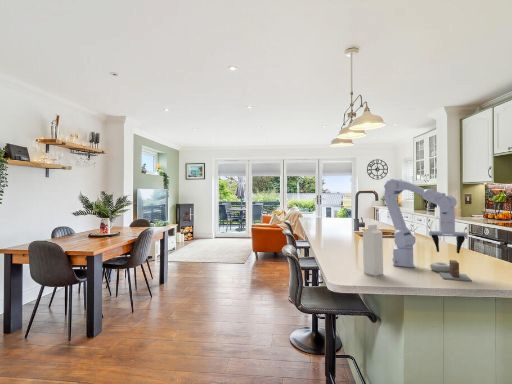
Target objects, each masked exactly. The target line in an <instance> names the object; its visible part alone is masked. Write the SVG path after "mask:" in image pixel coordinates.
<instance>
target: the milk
mask: <svg viewBox="0 0 512 384" xmlns="http://www.w3.org/2000/svg"><path fill="white" fill-rule="evenodd" d="M383 239H384V238H383V231H381V230H380V229H379V228H378V224H370V225H368V226H367V229H365V230H363V231H362V252H363V253H362V254H363V255H362V256H363V274H366V275H370V276H372V277H373V276H374V277H376V276H380V275H384V250H383V249H384V248H383V246H384V245H383V244H384V242H383V241H384V240H383Z"/></svg>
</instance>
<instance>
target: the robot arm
mask: <svg viewBox="0 0 512 384" xmlns="http://www.w3.org/2000/svg"><path fill="white" fill-rule="evenodd" d="M383 187H384V196H383V197H384V201H385V205H386V207H387V210H388V213H389V216H390V218H391V221H392V224H393V227H394V233H393V235H394V245H396V246H395V247H392V255H393V256H392V263H393V266H394V267H403V268H404V267H406V268H415V267H416V266H415V263H414V245H415V244H416V238H415V235H414V234H413V233H412V232H411V230H410V229H409V228H408V227H407V224H406V222H405V219H404V216H403V214H402V211H401V209H400V205H399V203H398V200H397V198H398V196H399V195H400V194H401V193H402V192H403V191H410V192H412V193H415V194H417V195H420V196H421V197H422V198H423V200H425V201H427V202H430V203H432V204H434V205H437V207H438V208H439V230H435V231H434V230H428V236H429V237H431V238H432V240H433V242H434V245H435V248H436V249H435V250H436V253H440V246H439V244H440V243H439V242H440V241H439V240H440V239H439V237H452V238H453V237H454V238H456V239H455V240H456V254H460V251H461V248H462V246H463V243H464V242H465V239H466V238H468V232H463V231H456V213H455V209H456V208H455V207H456V206H457V199H456V198H455V197H454V196H452V195H446V193H445V192H440V191H437V190H436V189H435V188H431V187H430V188H427V189H425V188H423V187H421V186H419V185H416V184H414V183H413V182H409V181H407V180H403V179H394V178H390V179H389V178H388V180H386V182H385V183H384V185H383Z"/></svg>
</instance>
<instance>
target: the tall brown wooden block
mask: <svg viewBox="0 0 512 384" xmlns="http://www.w3.org/2000/svg"><path fill="white" fill-rule="evenodd" d="M449 264H450V275H451V276H452V277H457V278H459V274H460V263H459V262H458V261H457V260H456V259H454V260H452V259H450V260H449Z"/></svg>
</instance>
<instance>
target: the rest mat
mask: <svg viewBox="0 0 512 384" xmlns="http://www.w3.org/2000/svg"><path fill="white" fill-rule="evenodd" d="M438 274H439V275H440V277H441V279H442V280H451V281H462V282H463V281H464V282H473V281H472V279H471V278H470V277H469V276H468V275H467V274H466V273H459V278H457V277H452V276H451V275H450V273H446V272H438Z"/></svg>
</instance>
